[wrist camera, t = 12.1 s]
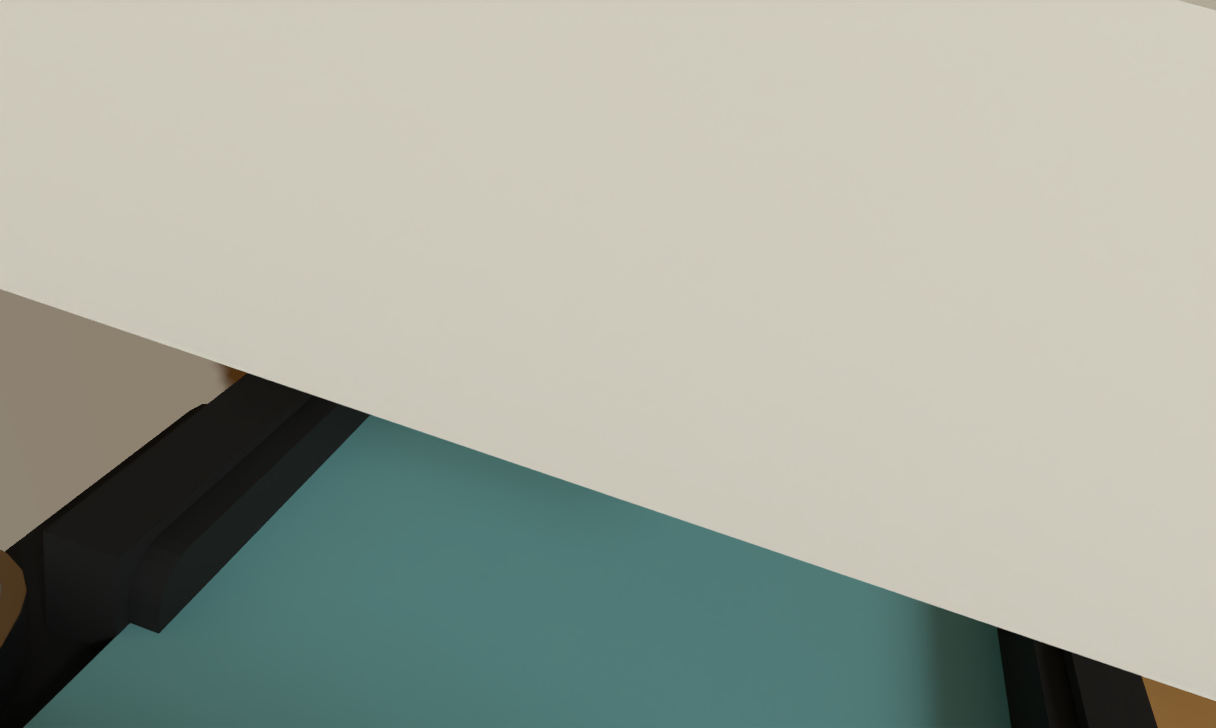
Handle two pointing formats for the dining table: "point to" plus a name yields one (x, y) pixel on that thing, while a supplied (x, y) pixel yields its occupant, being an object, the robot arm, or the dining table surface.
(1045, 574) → the domino
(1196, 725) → the dining table surface
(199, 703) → the domino
